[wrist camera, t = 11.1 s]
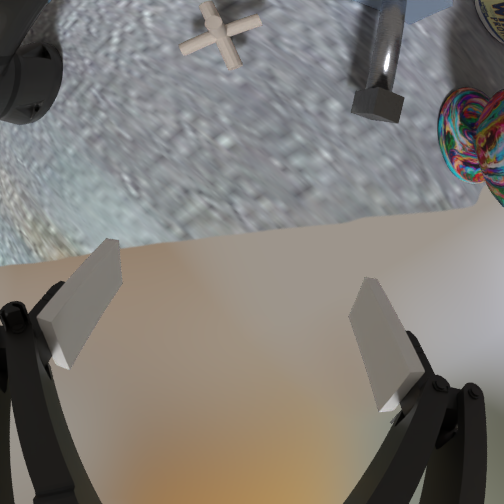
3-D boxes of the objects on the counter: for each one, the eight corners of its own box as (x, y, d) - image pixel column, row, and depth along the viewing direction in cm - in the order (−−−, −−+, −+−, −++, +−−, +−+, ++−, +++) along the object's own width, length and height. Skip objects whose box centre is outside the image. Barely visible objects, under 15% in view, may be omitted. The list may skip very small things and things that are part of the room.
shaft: (350, 112, 32) (372, 113, 24) (377, -27, 21) (399, -49, 14) (371, 120, 32) (398, 123, 25) (397, -19, 21) (422, -38, 14)
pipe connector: (179, 30, 30) (155, 9, 21) (246, 3, 28) (241, -26, 19) (205, 87, 34) (186, 79, 25) (274, 60, 32) (277, 44, 23)
